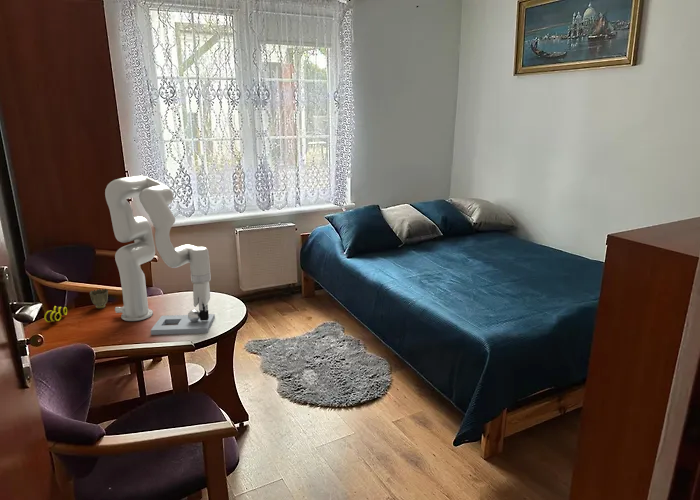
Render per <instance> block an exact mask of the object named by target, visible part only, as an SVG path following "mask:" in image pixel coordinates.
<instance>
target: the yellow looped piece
mask: <svg viewBox="0 0 700 500" xmlns="http://www.w3.org/2000/svg"><path fill="white" fill-rule="evenodd" d="M67 314H68V308H67V307H66V306H64V307H62V306H56V305H54V307H53V310H51V309H50V310H47V311H46V312H45V313H44V321H45V322H46V323H52V322H59V321H60V320H61V319H62V316H67Z"/></svg>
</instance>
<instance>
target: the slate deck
mask: <svg viewBox="0 0 700 500" xmlns="http://www.w3.org/2000/svg"><path fill="white" fill-rule="evenodd" d="M208 314H209V319H208V320H202V321H201V320H200V319H199V320H198V321H196V322H192V321H190V320H189V319H188V314H175V315H173V314H172V315H161V316H160V317H159V319H158V320H157V321H156V322H155V323H154V325H153V326H152V328H151V329H150V335H151V336H152V335H155V336H156V335H186V334H187V335H188V334H190V335H191V334H208V333H209V332H210V331H209V330H210V329H211V326H212V324H213V323H214V319H215V317H216V316H215V315H216V314H215V313H208Z"/></svg>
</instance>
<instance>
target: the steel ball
mask: <svg viewBox="0 0 700 500" xmlns="http://www.w3.org/2000/svg"><path fill="white" fill-rule="evenodd" d="M187 315H188V319H189V320H190V321H192V322H196V321H198V320H199V319H200V312H199V309H191V310H190V311H188V313H187Z"/></svg>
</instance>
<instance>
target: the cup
mask: <svg viewBox="0 0 700 500" xmlns="http://www.w3.org/2000/svg"><path fill="white" fill-rule="evenodd" d="M89 295H90V300H91V302H92V304H93V305H94V306H95V308H96V309H98V310H101V309H105V308H106V304H107V303H108V301H109V299H108V298H109V297H108V296H109V289H107V288H102V289H101V288H99V289H98V288H97V289H94V290H91V291H89Z"/></svg>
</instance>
